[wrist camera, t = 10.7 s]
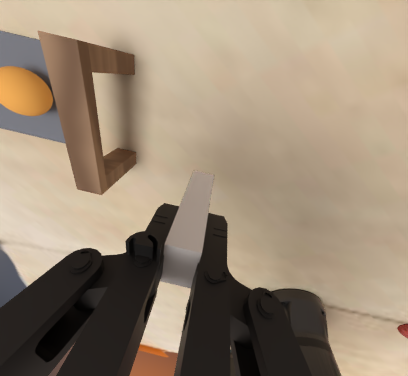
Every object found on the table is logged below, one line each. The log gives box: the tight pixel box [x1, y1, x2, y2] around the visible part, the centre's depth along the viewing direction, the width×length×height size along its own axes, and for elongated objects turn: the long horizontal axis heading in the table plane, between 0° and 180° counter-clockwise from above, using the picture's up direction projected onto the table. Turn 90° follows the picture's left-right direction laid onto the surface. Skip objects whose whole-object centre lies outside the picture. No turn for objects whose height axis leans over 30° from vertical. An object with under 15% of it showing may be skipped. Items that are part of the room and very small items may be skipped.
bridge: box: [38, 31, 136, 195], centre depth 21 cm, size 3×14×9 cm, turn 169°
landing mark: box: [0, 31, 66, 143], centre depth 24 cm, size 13×13×1 cm
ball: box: [0, 66, 53, 116], centre depth 22 cm, size 6×6×6 cm
